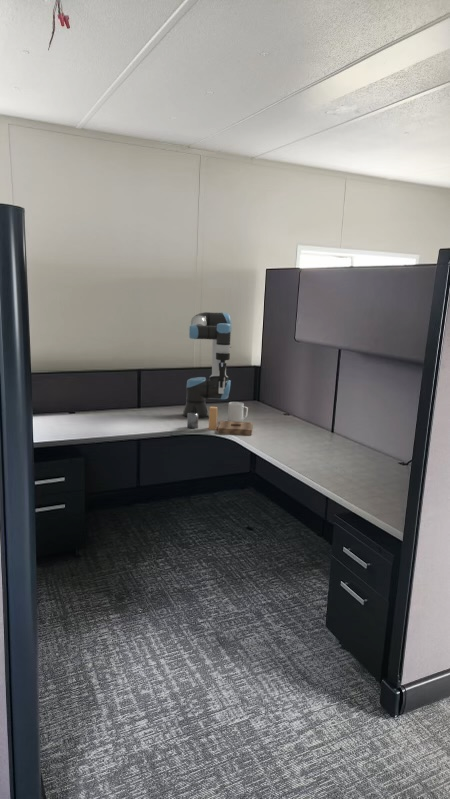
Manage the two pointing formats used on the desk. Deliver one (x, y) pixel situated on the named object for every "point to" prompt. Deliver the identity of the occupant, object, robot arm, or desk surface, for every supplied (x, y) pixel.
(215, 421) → the square peg
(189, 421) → the grey rounded block
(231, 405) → the mug
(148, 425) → the desk surface
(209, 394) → the robot arm
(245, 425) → the socket block
